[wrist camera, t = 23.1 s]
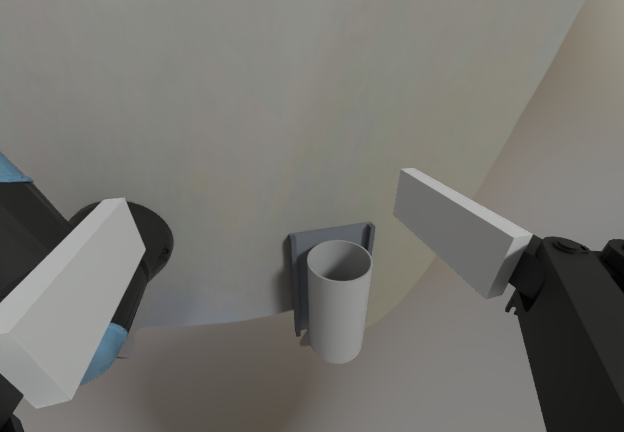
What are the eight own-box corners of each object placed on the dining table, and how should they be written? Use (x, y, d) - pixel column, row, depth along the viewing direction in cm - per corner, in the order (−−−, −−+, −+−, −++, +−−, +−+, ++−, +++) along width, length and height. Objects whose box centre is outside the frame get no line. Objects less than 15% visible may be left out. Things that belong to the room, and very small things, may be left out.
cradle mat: (359, 314, 71) (362, 321, 69) (295, 329, 67) (296, 336, 65) (370, 221, 56) (375, 227, 54) (289, 233, 52) (291, 240, 50)
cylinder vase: (339, 378, 54) (345, 294, 42) (299, 340, 62) (293, 260, 49) (372, 338, 62) (385, 257, 50) (332, 309, 70) (335, 233, 57)
